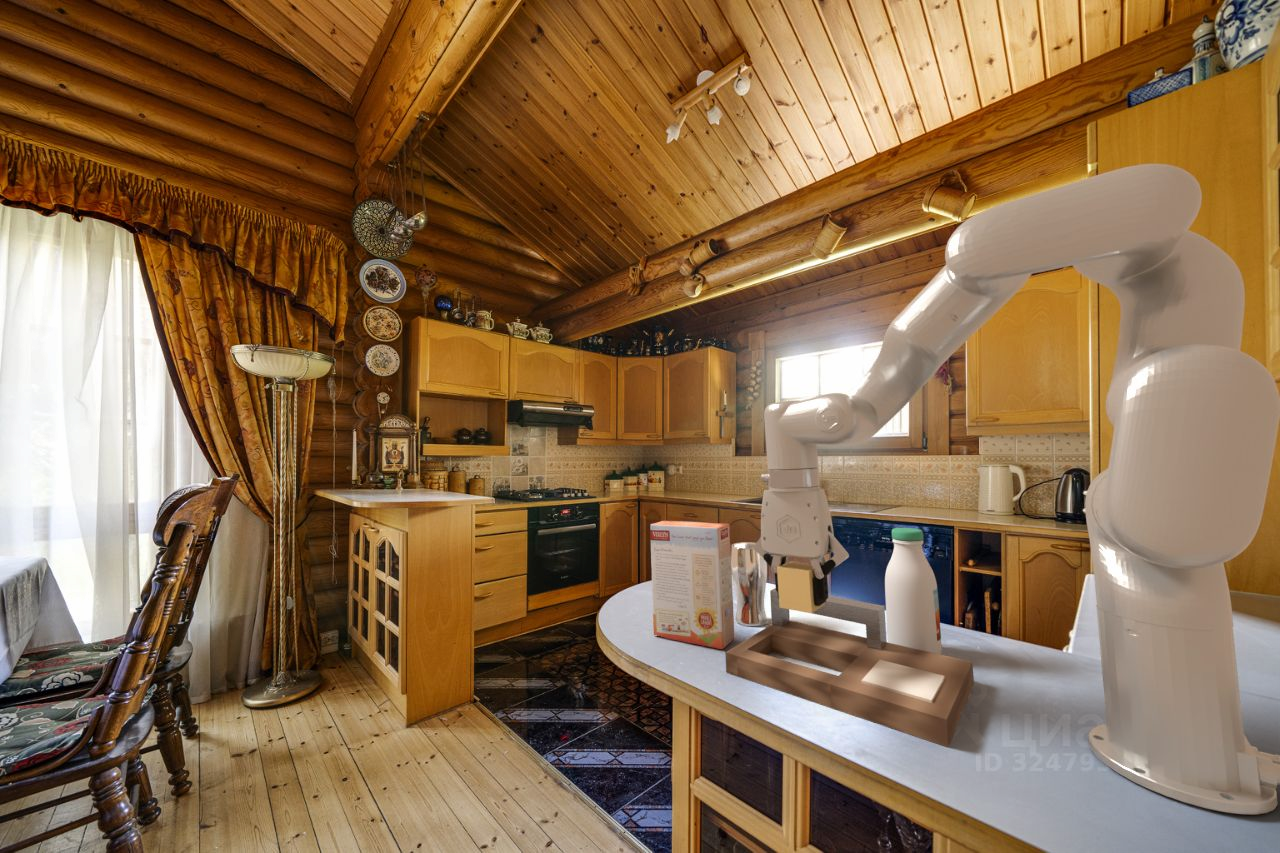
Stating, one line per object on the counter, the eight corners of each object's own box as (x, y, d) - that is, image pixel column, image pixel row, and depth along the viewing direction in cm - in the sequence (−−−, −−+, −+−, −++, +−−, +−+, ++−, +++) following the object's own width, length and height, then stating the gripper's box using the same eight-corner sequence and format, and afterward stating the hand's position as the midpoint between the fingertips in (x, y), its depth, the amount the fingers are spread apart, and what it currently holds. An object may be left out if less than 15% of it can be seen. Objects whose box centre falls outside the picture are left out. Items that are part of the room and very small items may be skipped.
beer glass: (770, 628, 90) (767, 548, 91) (733, 626, 91) (730, 548, 92) (768, 616, 97) (764, 542, 98) (733, 614, 98) (730, 541, 99)
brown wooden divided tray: (974, 683, 67) (972, 659, 67) (948, 747, 53) (946, 716, 53) (782, 635, 86) (781, 616, 87) (726, 672, 72) (725, 650, 73)
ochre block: (825, 604, 72) (822, 564, 72) (811, 613, 68) (808, 571, 69) (793, 599, 75) (791, 561, 76) (779, 607, 72) (776, 567, 72)
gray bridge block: (886, 643, 74) (884, 605, 74) (881, 649, 72) (878, 610, 72) (779, 619, 86) (777, 586, 86) (771, 623, 84) (770, 590, 84)
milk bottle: (932, 665, 73) (924, 534, 74) (880, 651, 78) (873, 529, 80) (948, 651, 78) (940, 528, 79) (898, 638, 84) (891, 524, 85)
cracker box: (735, 639, 85) (731, 522, 86) (722, 651, 80) (718, 527, 81) (668, 626, 93) (664, 518, 94) (652, 636, 88) (649, 523, 89)
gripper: (733, 482, 76) (740, 597, 75) (840, 482, 65) (851, 617, 63) (756, 479, 82) (763, 586, 80) (858, 478, 70) (869, 603, 69)
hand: (801, 599), depth 72 cm, fingers closed on ochre block, 4 cm apart
